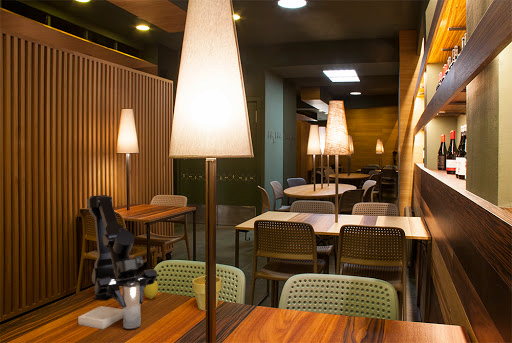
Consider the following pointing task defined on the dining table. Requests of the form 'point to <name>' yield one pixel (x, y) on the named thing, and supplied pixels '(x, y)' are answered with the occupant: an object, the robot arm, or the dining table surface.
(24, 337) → the dining table surface
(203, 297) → the plant pot
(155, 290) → the lemon
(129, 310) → the metal water bottle
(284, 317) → the dining table surface
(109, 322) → the serving tray
